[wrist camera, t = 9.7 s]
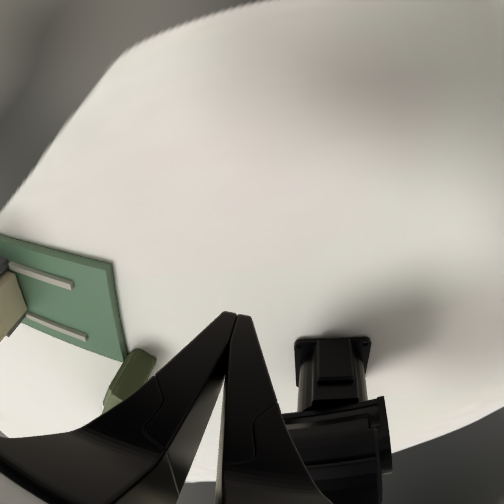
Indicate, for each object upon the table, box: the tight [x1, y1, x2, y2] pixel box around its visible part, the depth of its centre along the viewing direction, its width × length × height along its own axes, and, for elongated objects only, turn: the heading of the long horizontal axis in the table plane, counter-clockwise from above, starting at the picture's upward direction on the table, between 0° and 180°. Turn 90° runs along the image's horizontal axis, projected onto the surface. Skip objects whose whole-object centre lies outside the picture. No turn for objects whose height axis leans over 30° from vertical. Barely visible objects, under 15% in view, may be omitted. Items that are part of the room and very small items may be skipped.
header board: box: [0, 235, 127, 362], centre depth 26 cm, size 20×12×6 cm, turn 82°
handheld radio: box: [102, 349, 156, 414], centre depth 34 cm, size 7×3×25 cm
